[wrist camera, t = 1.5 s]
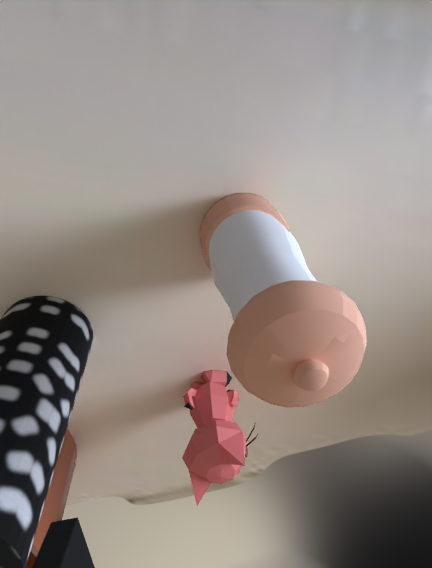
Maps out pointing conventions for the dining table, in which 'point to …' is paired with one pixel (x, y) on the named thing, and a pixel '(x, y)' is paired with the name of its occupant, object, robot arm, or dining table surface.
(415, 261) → the dining table surface
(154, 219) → the dining table surface
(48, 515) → the terracotta coffee mug
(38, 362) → the white-spotted black cylinder
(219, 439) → the cat figurine
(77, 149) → the dining table surface
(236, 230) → the pepper shaker
